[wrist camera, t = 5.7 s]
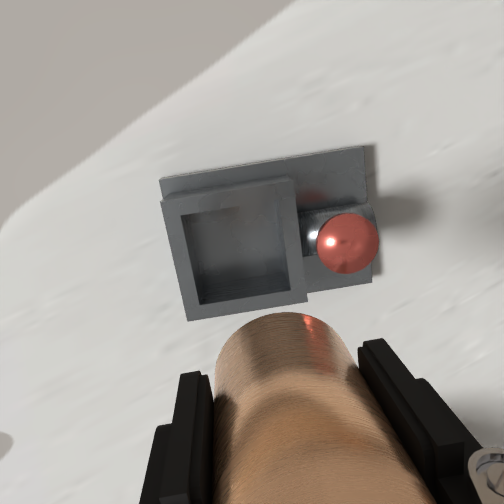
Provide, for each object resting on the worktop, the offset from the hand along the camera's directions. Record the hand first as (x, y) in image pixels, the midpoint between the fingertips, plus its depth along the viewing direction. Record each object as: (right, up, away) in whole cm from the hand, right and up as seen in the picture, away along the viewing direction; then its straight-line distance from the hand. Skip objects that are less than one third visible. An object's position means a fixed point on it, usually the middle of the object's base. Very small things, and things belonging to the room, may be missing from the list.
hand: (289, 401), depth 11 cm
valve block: (0, +6, +17) cm, 18 cm away
